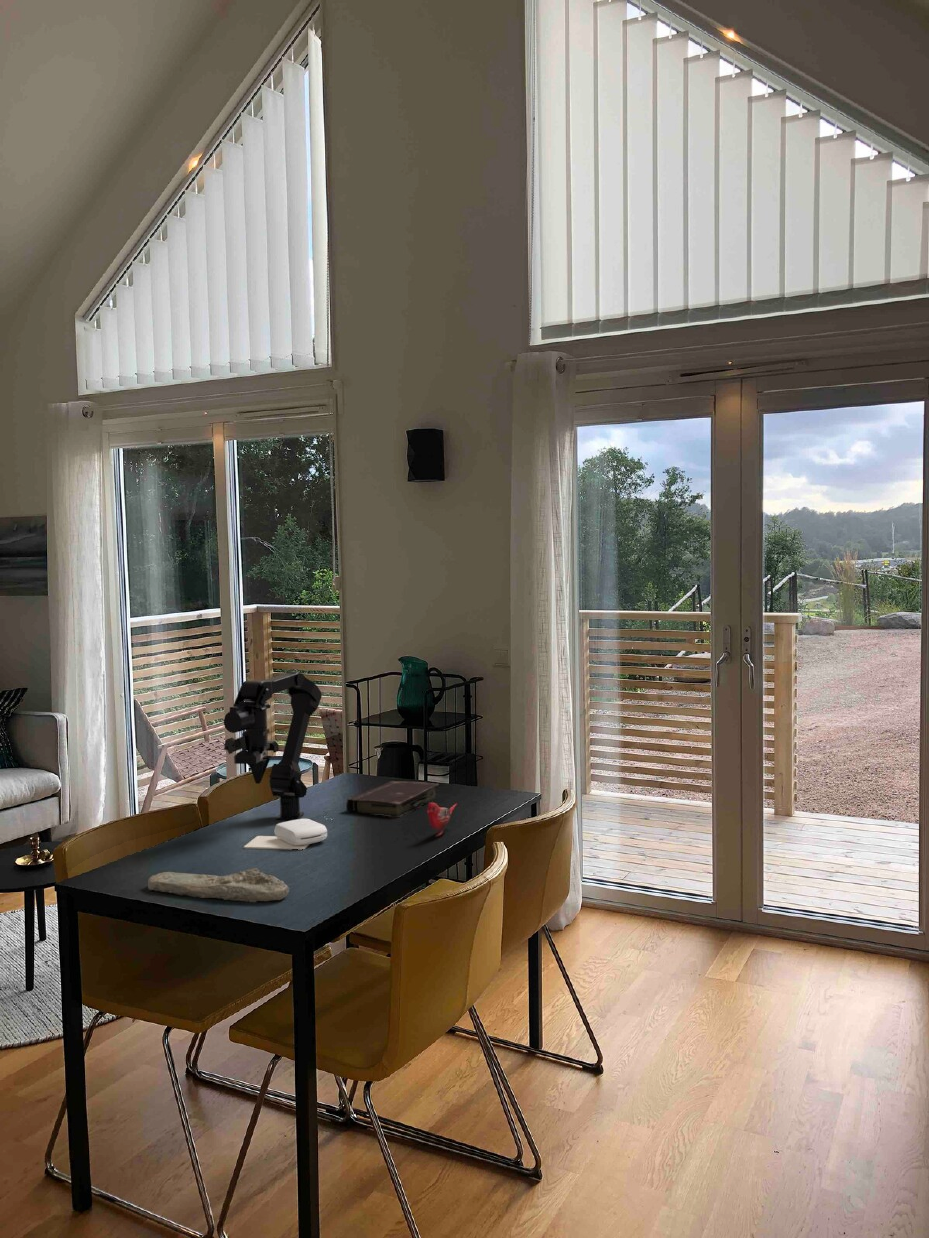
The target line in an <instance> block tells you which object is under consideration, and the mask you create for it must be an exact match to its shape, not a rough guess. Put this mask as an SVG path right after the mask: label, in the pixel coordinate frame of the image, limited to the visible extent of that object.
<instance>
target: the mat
mask: <svg viewBox="0 0 929 1238" xmlns="http://www.w3.org/2000/svg"><path fill="white" fill-rule="evenodd" d="M308 846H310V844H306V845H292V844H290V843H288V842H285V841H283V840H281V839H279V838H277V836H276V835H273V836H272V835H271V836H270V835H257V836H255V838H253V839H252V840H250V841H249V842H248V843H247V844H246V845H245V844H244V846H243V849H252V850H253V849H254V850H255V849H259V850H292V849H298V850H301V851H303V850H305V849H306V848H307V847H308ZM302 849H303V850H302Z"/></svg>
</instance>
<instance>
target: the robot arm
mask: <svg viewBox="0 0 929 1238" xmlns="http://www.w3.org/2000/svg"><path fill="white" fill-rule="evenodd" d="M285 690H286V693H287V695H288V696H289V698H290V706H291V709H292V716H291V722H290V724H289V729H288V733H287V736H286V740H285V744H284V748H283V753H282V756H281V759H280V761H279V762H278V763H273V765H272V766H271V772H270V774H269V776H268V777H269V781H268V782H269V787H270V791H271V794H272V795H271V796H272V797H279V814H278V815H277V816H276V817H275V819H276V820H297V819H301V817H302V816H303V815H305V812H302V811H301V803H300V801H301V798H305V796H307V790H308V787H307V786H306V785H305V783H304V782H303V780H302V771H301V767H300V765H299V762H300V759H301V755H302V751H303V746H304V744H305V743H304V742H305V739H306V734H307V731H308V725H309V721H310V718H311V716H312V715H313V714H314V713H315V712H316V711H317V709H318V708H319V705H320V702H321V699H322V691H321V690H320V688H319V687H318V686H317V684H316V683H315V682H313V681H312V680H310V679H308V678H307V677H306V676H305V675H304V673H302V672H299V671H287V672H284V673H283V674H280V675H277V676H273V677H271V678H270V677H269V678H267V679H263V680H244V681H243V682H242V683H241V686H240V688H239V690H238V693H237V696H236V697H235V700H234V703H233V706H230V707H229V712H227V713H226V714H225V715H224V719H223V726H224V729H226V730H227V732H229V733H231V734H235V733H239V732H241V736H240V737H237V738H234V737H230V738H227V739H225V741H224V744H223V746H224V747H223V750H225V751H227V754H228V755H231V754H233V753H234V752H236V754H235V755H234V756H233V763H234V764H235V765H238V764H239V765H248V766H249V769H250V770H251V774H252V776H253V777H252V778H253V779H254V782H255V784H261V782H262V780H263V778H264V775H265V773H266V770H267V767H268V765H269V763H270V760H271V759H272V755H267V754H268V753H266V752H267V751H268V752H269V751H272V752H273V753H277V752H279V750H280V748H279V747H280V746H279V743H278V742H277V740H268V734H269V733H270V728H267V727H268V726H267V722H268V721H267V718H268V717H267V709H271V706H272V705H270V704H269V703H268V702H267V701H269V700H271V699H272V698H273V695H274V694H277V693H280V692H282V691H285ZM240 750H241V751H240ZM237 751H238V752H237Z"/></svg>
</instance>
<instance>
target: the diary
mask: <svg viewBox="0 0 929 1238" xmlns="http://www.w3.org/2000/svg"><path fill="white" fill-rule="evenodd" d="M439 785H440V784H439V783H435V782H434V783H432V782H423V781H422V782H421V781H396V780H395V781H394V780H391V781H389V782H386V783H384V784H382V785H380V786H377V787H375V788H371V789H367V791H364V792H362V793H360V794H358V795H354V796H352V797H349V798H347V799H346V804H345V806H346V812H347V811H348V812H347V813H350V812H349V811H351V812H353V811H357V813H358V812H364V813H363V814H367V813H370V814H369V815H372V814H384V815H391V817H390V818H395V817H396V818H401V817H403V815H404V814H406V815H408V814H407V813H405V812H407V811H412V812H414V811H416V810H417V808H418V809H419V808H422V807H421V806H420V805H421V804H424V803H426V802H427V801H430V800H432V799H434V798H435V797H436V787H438V786H439ZM418 806H419V807H418ZM415 809H416V810H415ZM352 810H353V811H352ZM400 814H403V815H400ZM399 815H400V816H399ZM404 816H405V815H404Z"/></svg>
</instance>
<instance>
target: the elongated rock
mask: <svg viewBox="0 0 929 1238" xmlns="http://www.w3.org/2000/svg"><path fill="white" fill-rule="evenodd" d="M147 887H148V890H149V891H151V890H154V891H155V892H162V893H169V894H172V893H173V895H174V894H175V895H177V896H188V897H193V898H201V899H210V898H211V899H222V900H224V901H233V902H234V901H236V902H237V901H242V902H248V901H249V902H248V903H257V902H269V901H276V900H277V901H280V900H283V899H284V898H286V897H287V896H288V894H289V892H290V888H289V886H288V885H287V884H286V883H285V882H284V880H282V879H281V880H280V879H279V878H277V877H276V876H274V875H271V874H268V875H267V874H265V873H264V872H261V871H260V870H259V868H254V867H253V868H251V869H246V870H244V871H241V870H240V871H239V872H238V873H230V874H228V875H221V876H220V875H215V874H211V875H210V874H198V873H197V874H196V873H187V872H185V873H184V872H176V871H175V872H173V871H163V872H158V873H157V874H153V875H151V876H150V877H149V878H148V880H147Z"/></svg>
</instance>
